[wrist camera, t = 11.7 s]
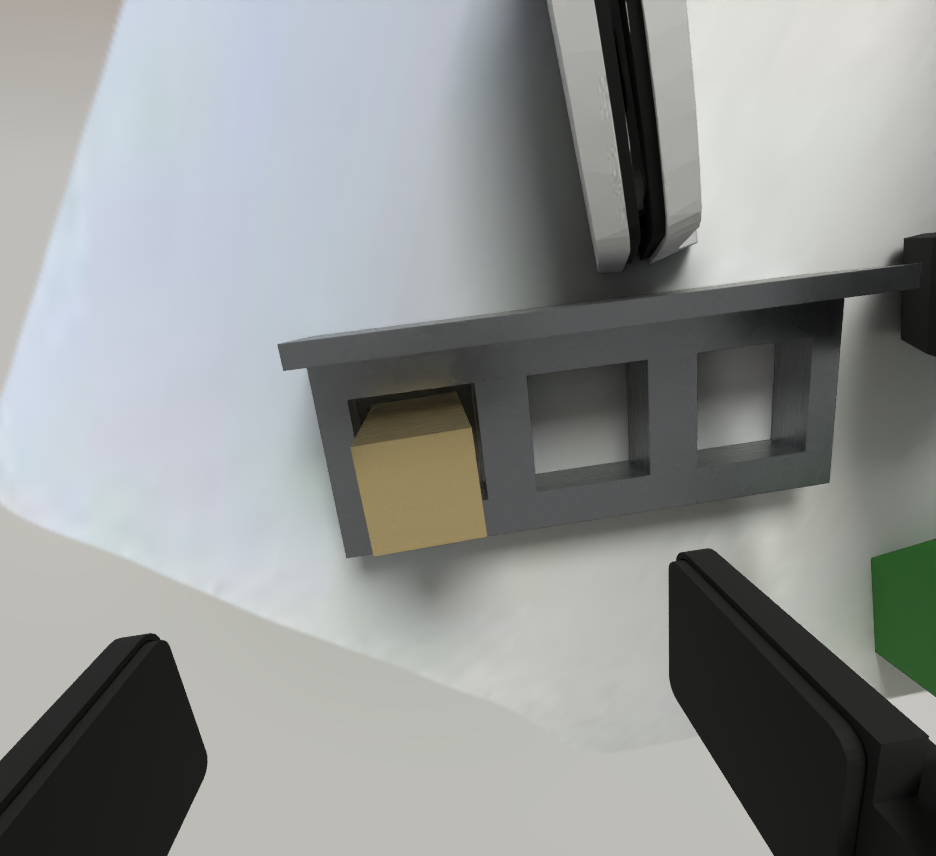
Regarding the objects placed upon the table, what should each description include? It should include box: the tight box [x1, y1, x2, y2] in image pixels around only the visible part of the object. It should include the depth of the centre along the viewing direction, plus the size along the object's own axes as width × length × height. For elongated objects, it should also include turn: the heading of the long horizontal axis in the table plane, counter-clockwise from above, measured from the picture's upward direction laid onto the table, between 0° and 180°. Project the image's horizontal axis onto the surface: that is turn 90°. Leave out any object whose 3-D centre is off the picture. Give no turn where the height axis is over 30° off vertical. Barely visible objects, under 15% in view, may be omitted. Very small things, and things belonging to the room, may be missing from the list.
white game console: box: [546, 0, 702, 273], centre depth 18 cm, size 17×5×10 cm, turn 16°
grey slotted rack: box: [278, 263, 922, 558], centre depth 22 cm, size 26×11×6 cm, turn 97°
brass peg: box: [350, 392, 487, 556], centre depth 21 cm, size 4×4×8 cm
